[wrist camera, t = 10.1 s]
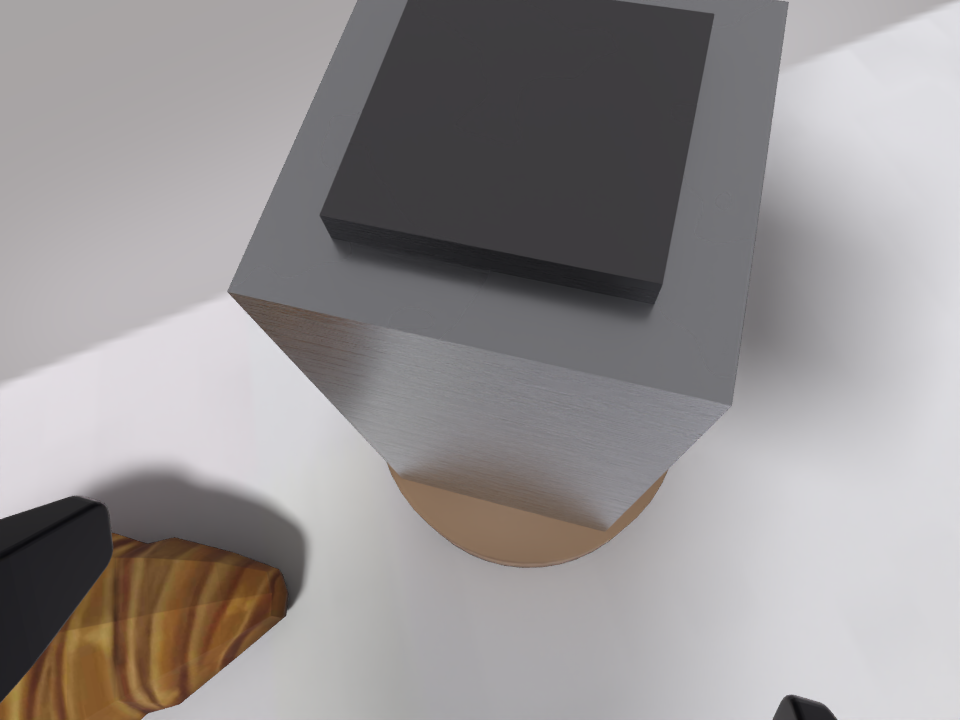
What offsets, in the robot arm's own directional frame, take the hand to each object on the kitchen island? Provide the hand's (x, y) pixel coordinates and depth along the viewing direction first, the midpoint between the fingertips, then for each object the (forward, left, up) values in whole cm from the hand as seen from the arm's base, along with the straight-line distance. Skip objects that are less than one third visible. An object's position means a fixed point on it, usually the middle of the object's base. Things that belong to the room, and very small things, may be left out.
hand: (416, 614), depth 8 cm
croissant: (-1, +12, -14) cm, 19 cm away
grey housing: (+6, -1, -10) cm, 12 cm away
